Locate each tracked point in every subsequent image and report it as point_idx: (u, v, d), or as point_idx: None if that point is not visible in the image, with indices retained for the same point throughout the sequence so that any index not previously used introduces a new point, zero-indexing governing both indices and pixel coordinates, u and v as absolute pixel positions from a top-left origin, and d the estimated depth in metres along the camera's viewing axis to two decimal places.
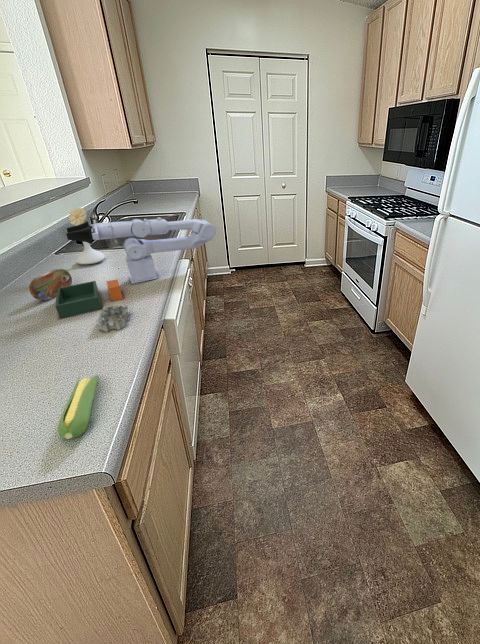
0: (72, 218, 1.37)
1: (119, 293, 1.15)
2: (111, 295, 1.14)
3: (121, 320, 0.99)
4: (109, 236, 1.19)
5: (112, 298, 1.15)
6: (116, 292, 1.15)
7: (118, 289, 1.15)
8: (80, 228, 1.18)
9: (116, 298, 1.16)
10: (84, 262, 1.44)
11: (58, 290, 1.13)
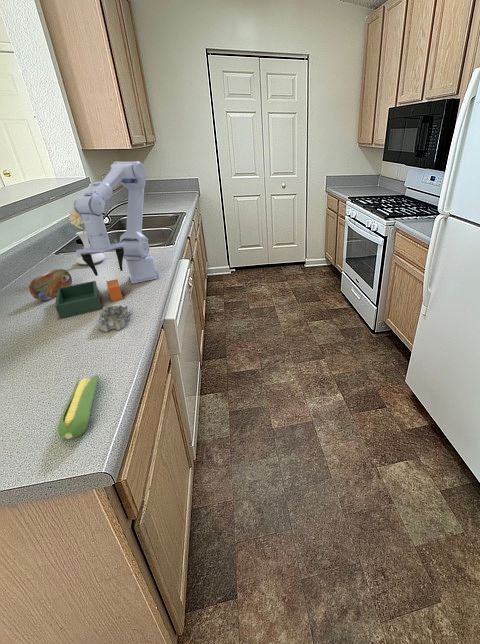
0: (72, 218, 1.37)
1: (119, 293, 1.15)
2: (111, 295, 1.14)
3: (121, 320, 0.99)
4: None
5: (112, 298, 1.15)
6: (116, 292, 1.15)
7: (118, 289, 1.15)
8: (93, 264, 1.10)
9: (116, 298, 1.16)
10: (84, 262, 1.44)
11: (58, 290, 1.13)
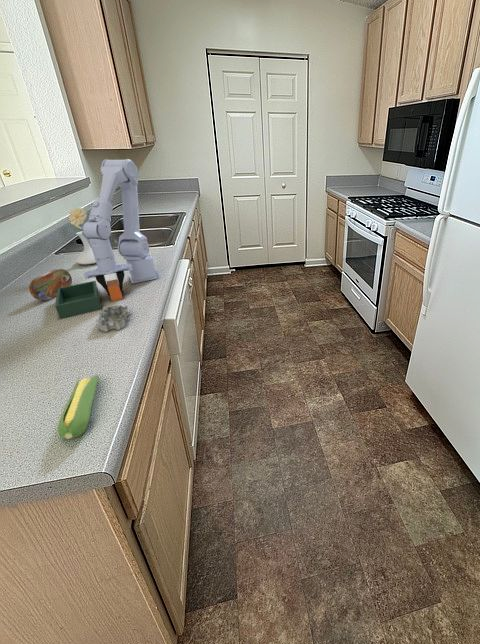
0: (72, 218, 1.37)
1: (119, 293, 1.15)
2: (111, 295, 1.14)
3: (121, 320, 0.99)
4: None
5: (112, 298, 1.15)
6: (117, 292, 1.15)
7: (118, 289, 1.15)
8: (106, 284, 1.15)
9: (116, 298, 1.16)
10: (84, 262, 1.44)
11: (58, 290, 1.13)
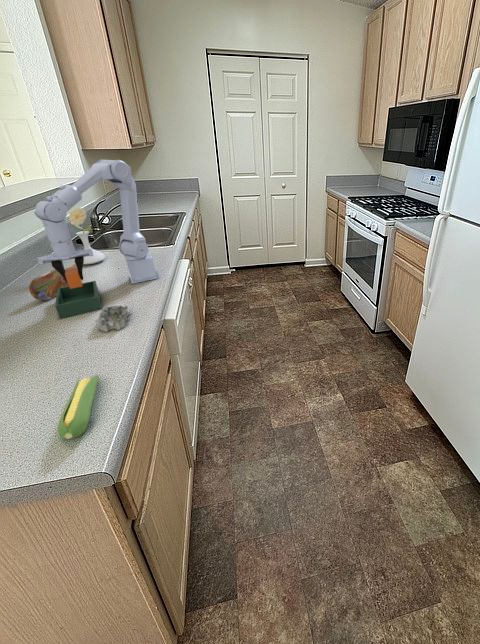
0: (72, 218, 1.37)
1: (78, 280, 1.07)
2: (69, 282, 1.06)
3: (121, 320, 0.99)
4: None
5: (70, 285, 1.07)
6: (75, 279, 1.07)
7: (77, 276, 1.07)
8: (64, 270, 1.07)
9: (75, 286, 1.07)
10: (84, 262, 1.44)
11: (58, 290, 1.13)
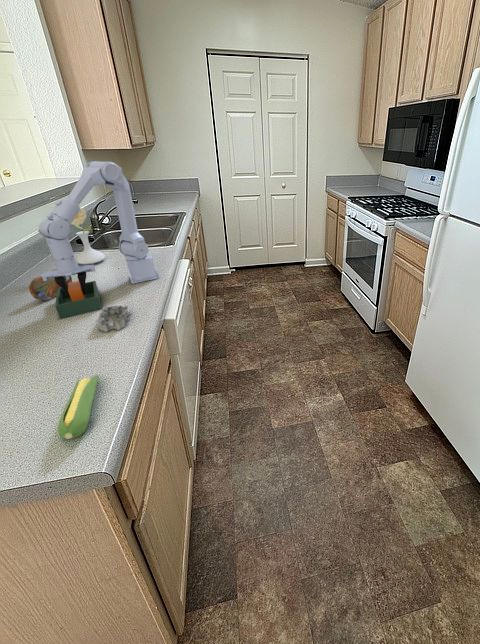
0: None
1: (81, 295, 1.09)
2: (72, 298, 1.08)
3: (121, 320, 0.99)
4: None
5: None
6: (78, 294, 1.09)
7: (79, 291, 1.09)
8: (67, 285, 1.09)
9: None
10: (84, 262, 1.44)
11: (58, 290, 1.13)
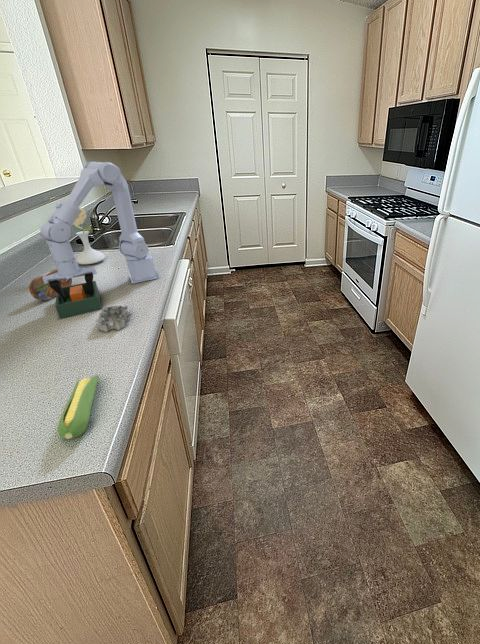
0: None
1: None
2: None
3: (121, 320, 0.99)
4: None
5: None
6: (79, 299, 1.10)
7: (81, 296, 1.10)
8: (61, 289, 1.08)
9: None
10: (84, 262, 1.44)
11: None
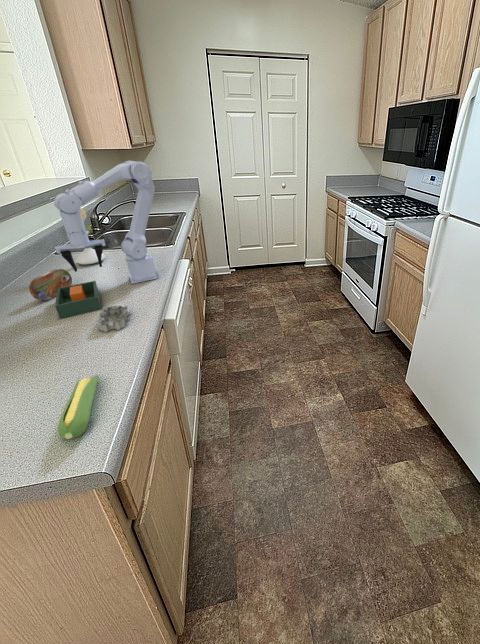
0: None
1: None
2: None
3: (121, 320, 0.99)
4: None
5: None
6: (79, 299, 1.10)
7: (81, 296, 1.10)
8: (72, 260, 1.14)
9: None
10: (84, 262, 1.44)
11: (58, 290, 1.13)
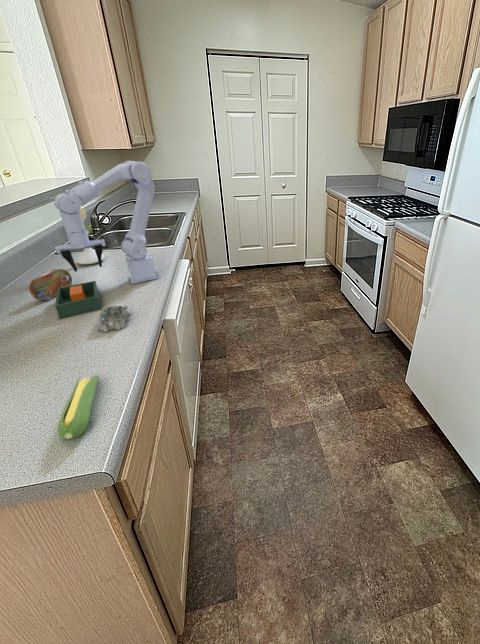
0: None
1: None
2: None
3: (121, 320, 0.99)
4: None
5: None
6: (79, 299, 1.10)
7: (81, 296, 1.10)
8: (72, 260, 1.14)
9: None
10: (84, 262, 1.44)
11: (58, 290, 1.13)
